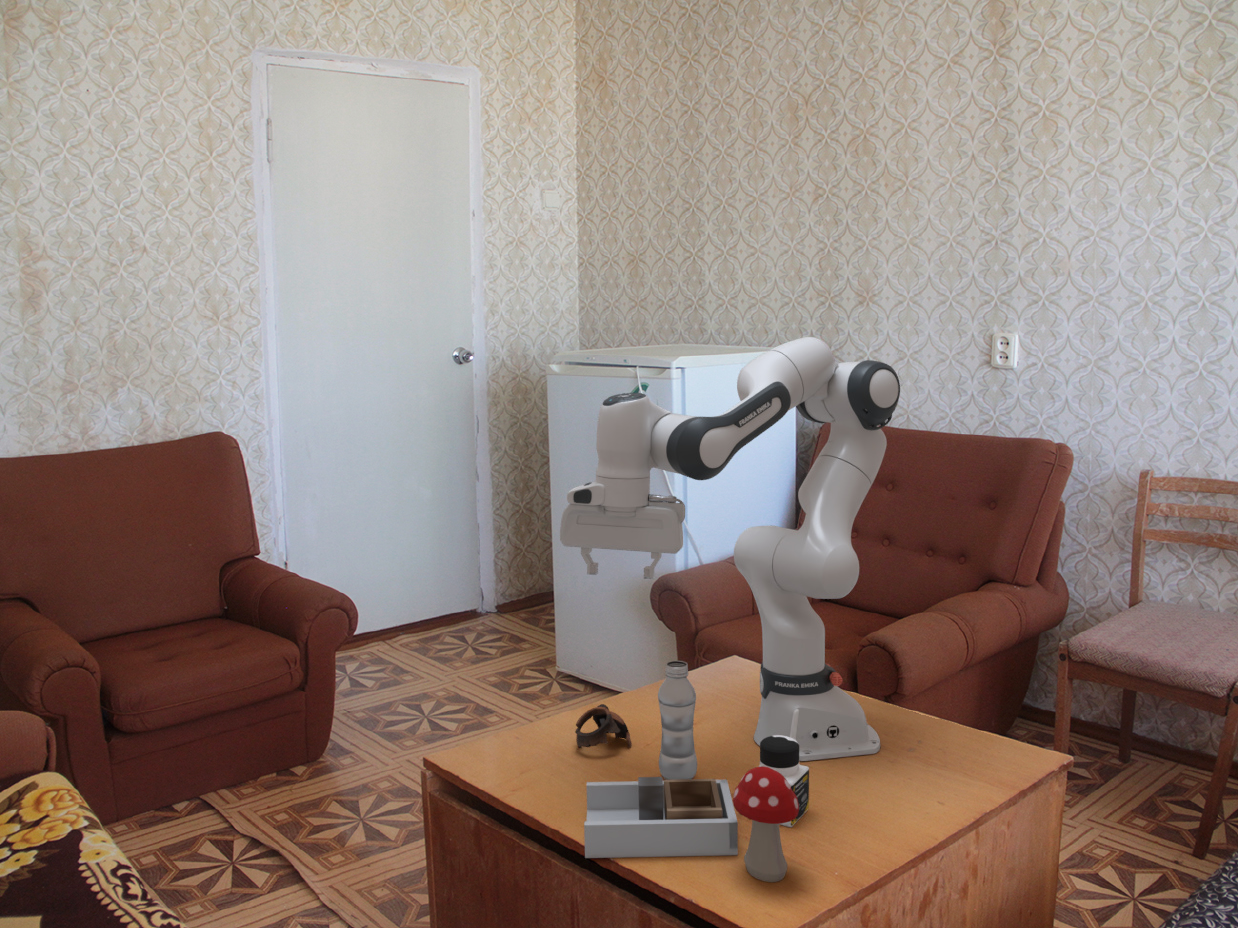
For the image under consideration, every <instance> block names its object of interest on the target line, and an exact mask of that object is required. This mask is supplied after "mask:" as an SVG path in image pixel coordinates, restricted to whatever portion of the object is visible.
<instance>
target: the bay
mask: <svg viewBox="0 0 1238 928" xmlns="http://www.w3.org/2000/svg"><path fill="white" fill-rule="evenodd" d="M715 780H716V784H717V789H718V793H719V798H720V802H721V806H722V819H679V820H665V813H664V780H662V781H663V820H639V793H638V780H636V781H633V780H632V781H587V782H586V821H584V826H583V827H584V828H583V829H584V832H583V833H584V834H583V835H584V858H585V859H604V858H605V859H607V858H609V859H611V858H650V857H651V858H655V857H656V858H657V857H659V858H661V857H701V856H703V857H706V856H707V857H708V856H710V857H711V856H712V857H714V856H739V855H738V854H739V852H738V851H739V848H738V845H739V844H738V842H739V841H738V840H739V839H738V835H739V834H738V833H739V831H738V830H739V829H738V826H739V825H738V824H739V823H738V819H737V815H736V811H735V810H736V809H735V807H734V804H733V797H732V794H731V791H730V787H729V782H728V780H727V779H715Z"/></svg>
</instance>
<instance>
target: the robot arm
mask: <svg viewBox="0 0 1238 928" xmlns="http://www.w3.org/2000/svg"><path fill="white" fill-rule="evenodd" d="M736 380H737V382H736V384H737V385H736V388H737V390H736V391H737V394H738V398H739V400H740V401H739V402H738V403H736V404H734V405H733V406H731V407H730V408H728V409H727V410H726V411H725V412H723V413H721V414H719V415H715V416H696V415H695V416H694V415H687V414H681V413H680V414H679V413H673V412H672V411H670V410H668V409H665V408H663V407H661V406H659V405H658V404H656V403H655V402H653V400H651V399H650V398H649V397H648V395H647V394H646V393H642V392H627V393H625V392H624V393H618V394H615V395H611V396H609V397H608V398H606V399H604V400H603V401H602V403H601V405H600V408H599V411H598V417H597V426H596V427H597V428H596V443H595V444H596V447H595V448H596V453H597V456H598V463H597V467H596V471H595V481H592V482H590V481H589V482H587V483H585V484H581V485H578V486H576V487H574V488H573V487H572V488H571V489H570V490H569V491H567V494H566V500H567V502H568V504H567V506H565V508H564V509H563V511H562V514H561V518H560V519H561V520H560V527H559V528H560V530H559V541H560V543H561V544H562V545H563V546H564V547H568V548H569V547H570V548H580V555H581V557H582V559H583V561H584V562H585V564H586V566H587V567H586V574H587V575H592V576H597V575H598V574H599V562H594V561H593V557H592V556H591V552H593V549H599V550H615V551H630V552H632V551H633V552H645V553H650V559H652V560H653V561H652V562H651V563H650V566H649V565H646V566H644V568H643V579H647V580H653V579H654V578H655V567H656V566H657V564H658V563H659V561H660V560H661V558H662V555H663V554H670V555H671V554H673V555H675V554H678V552H680V551H681V550H682V548H683V547H684V530H683V522H684V520H685V519H686V505H685V503H684V501H682V500H681V499H680V498H677V496H675V495H660V494H650V490H651V489H650V487H651V470H652V469H653V468H655V469H658V470H662V471H666V472H670V473H674V474H679V475H682V476H684V477H687V478H689V479H692V480H697V481H706V480H711V479H713V478H716V476H718V475H719V474H720V473H721V472H722V471H723V470H724V469H725V468H726V467H727V465H728V464H729V463H730V461H731V460H732V459H733V458H734V456H735V455H736V454H737V453H738V452H739V451H741V449H743V447H745V446H746V445H748V444H750V443H751V442H752V441H753V440H754V439H756V438H757V437H758V436H760V435H762V434H763V433H764V432H766V431H767V430H769V429H770V428H771V427H772V426H774V425H775V424H776V423H778V422H779V421H781V419H783V418H784V416H785V415H786V414H787V413H788V412H789V411H790V410H791V409H794V408H796V409H797V411H798V413H799V414H800V415H801V416H802V417H803V418H804V419H805V420H808V421H810V422H813V423H817V424H828V423H829V424H830V432H829V436H828V439H827V441H826V443H825V444H824V446H823V447H822V449H821V451H820V452H819V454H818V456H817V457H816V459H815V460H814V463H813V464H812V466H811V468H809V469H810V470H809V471H808V473H807V475H806V477H805V478H804V480H803V482H802V483H801V485H800V487H799V489H798V492H797V494H798V495H797V498H798V502H799V505H800V508H801V509H802V510H803V512H804V513H805V516H804V520H803V523H802V525H801V527H800V528H798V529H797V530H796V529H793V528H787V527H783V526H782V527H781V526H777V525H771V524H770V525H757V526H750V527H748V528H746V529H745V530H743V531H742V532H741V533H740V534H739V536H738V537H737V540H736V541H735V544H734V547H733V560H734V561H733V562H734V565H735V567H736V569H737V570H738V572H739V573H740V574H741V576H743V577H744V579H745V580H746V582H747V584H748V586H749V588H750V589H751V592H752V594H753V598H754V600H755V603H756V606H757V609H758V613H759V617H760V622H761V632H762V633H761V634H762V635H761V636H762V662H761V664H760V671H759V692H760V695H761V699H760V700H761V701H760V709H759V714H758V720H757V725H756V728H755V732H754V734H753V740H754V742H755V743H756V744H757V745H758V746H759V747H760V742H761V741H762V740H763V739H764V738H766V737H769V736H774V735H783V736H787V737H790V738H793V739H795V740H796V741H797V742H798V743H799V762H808V761H816V760H826V759H834V758H844V757H845V758H846V757H853V756H863V755H865V756H866V755H872V754H877V753H878V752H879V751H880V749H881V741H880V740H881V739H880V736H879V735H878V732H877V731H876V730H875V729H874V728H873V727H872V726H871V725H870V724H868V722H867V721H868V720H867V716H866V714H865V711H864V709H863V708H862V706H861V704H860V703H859V702H858V701H857V700H856V699H855V698H854V697H853V696H851V695H850V694H849V693H847V692H846V691H844V690H843V689H841V688H840V687H839V686H841V685H842V684H843V681H844V680H843V677H842V676H841V674H840V673H839V672H837V671H836V670H835V668H833V667H832V666H831V665H830V664H829V663H828V662H827V663H825V660H826V659H825V658H826V657H825V654H826V652H825V651H826V650H825V649H826V648H825V647H826V641H825V640H826V628H825V625H824V624H825V623H824V622H823V620H822V618H821V617H820V616H819V615H818V613H817V612H816V611H815V610H814V609H813V607H812V606H811V604H810V601H809V599H808V598H813V599H818V600H819V599H823V600H825V599H827V600H829V599H831V600H833V599H834V600H835V599H836V600H837V599H842V598H844V597H846V596H847V595H849V593H850V592H851V591H853V589H854V587H855V586H856V584H857V582H858V579H859V575H860V561H859V558H858V555H857V553H856V551H855V549H854V548H853V544H852V529H853V524H854V521H855V518H856V517H857V514H858V512H859V510H860V508H861V505H862V504H863V501H864V500H865V498H866V496H868V495H867V494H868V493H869V490H870V489H871V487H872V485H873V484H874V481H875V479H876V477H877V474H878V472H879V470H880V467H881V465H882V462H883V460H884V457H885V453H886V450H887V446H888V443H887V437H886V435H885V433H884V431H883V430H882V429H883V428H884V427H885V426H887V425H888V424H889V423H890V422H891V420H892V419H893V413H894V412H895V410H896V408H897V406H898V403H899V399H900V395H901V384H900V378H899V376H898V374H897V371H896V370H895V369H894V368H893V367H892V366H890V365H889V364H888V363H885V362H882V361H877V360H871V359H868V360H863V361H843V362H839V363H838V362H836V360H835V356H834V354H833V351H832V349H831V348H830V347H829V345H828V344H827V343H826V342H824V341H823V340H822V339H820V338H817V337H813V336H804V337H801V338H797V339H793V340H790V341H788V342H787V341H786V342H785V343H782V344H780V345H777V346H775V347H773V348H770V349H768V350H767V351H765V352H762V353H761V354H759V355H757V356H756V357H754V358H753V359H751V360H750V361H749V362H748V363H746V364H745V365H744V366H743V367H742V368H741V369H740V370H739V373H738V376H737V379H736Z"/></svg>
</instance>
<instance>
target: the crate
mask: <svg viewBox="0 0 1238 928" xmlns="http://www.w3.org/2000/svg"><path fill="white" fill-rule="evenodd" d="M716 780H717V779H716V778H693V779H677V780H666V779H663V776H638V778H637V781H638V793H639V820H663V781H664V813H665V820H679V819H722V806H721V802H720V798H719V793H718V789H717V784H716Z"/></svg>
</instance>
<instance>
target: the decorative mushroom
mask: <svg viewBox="0 0 1238 928" xmlns="http://www.w3.org/2000/svg"><path fill="white" fill-rule="evenodd" d="M732 802H733V806H734V810H736V811H735V812H738V813H739V815H741V816H742V817H744V818H746V819H749V820H751V821H752V823H751V831H750V837H749V842H748V847H747V849H746V851H745V854H744V857H743V862H744V865H745V868H746V871H747V872H748V874H750V876H752V877H754V878H755V879H757V880H760V881H762V882H765V883H767V882H768V883H776V882H780V881H782V880H783V879H784V877H785V876H786V873H787V870H788V862H787V861H786V857H785V855H784V850H783V846H782V840H781V833H780V832H781V831H780V824H781V823H786V822H789V821H791V820H793V819H795V818H796V817H797V815H798V812H799V803H798V799H797V797H796V795H795V793H794V792H793V791H792V789H791V787H790V785H789V783H788V782H787V780H786V779H785V778H784V776H783V775H782V774H780V773H779V772H778V771H776V770H774V769H772V768H769V767H758V766H756V767H753V768H751V769H749V770H748V771H746V772H745V773H744V774H743V776H742V777H741V780H740V781H739V783H738V784H737V785H736V787H735V790H734V793H733V797H732Z"/></svg>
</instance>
